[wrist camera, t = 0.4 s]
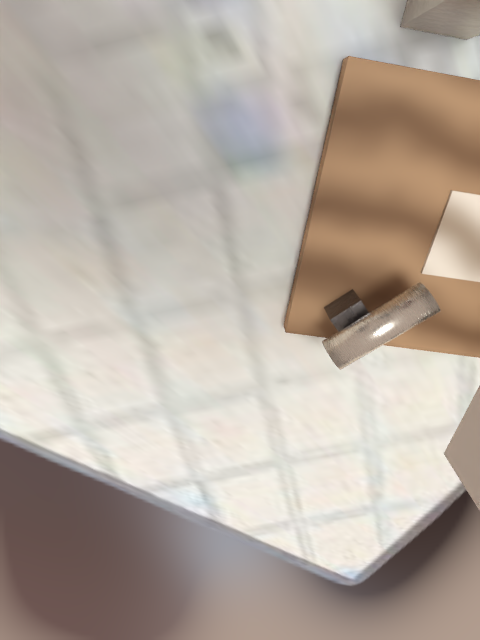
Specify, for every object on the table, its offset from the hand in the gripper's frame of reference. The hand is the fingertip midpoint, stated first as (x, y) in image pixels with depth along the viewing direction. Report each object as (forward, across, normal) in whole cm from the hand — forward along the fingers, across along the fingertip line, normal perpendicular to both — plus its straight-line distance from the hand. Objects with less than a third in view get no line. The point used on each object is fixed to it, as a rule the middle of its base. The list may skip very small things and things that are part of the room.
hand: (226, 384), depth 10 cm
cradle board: (+26, +21, +1) cm, 33 cm away
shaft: (+25, +13, -7) cm, 29 cm away
